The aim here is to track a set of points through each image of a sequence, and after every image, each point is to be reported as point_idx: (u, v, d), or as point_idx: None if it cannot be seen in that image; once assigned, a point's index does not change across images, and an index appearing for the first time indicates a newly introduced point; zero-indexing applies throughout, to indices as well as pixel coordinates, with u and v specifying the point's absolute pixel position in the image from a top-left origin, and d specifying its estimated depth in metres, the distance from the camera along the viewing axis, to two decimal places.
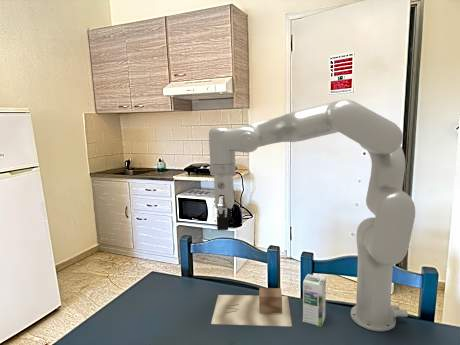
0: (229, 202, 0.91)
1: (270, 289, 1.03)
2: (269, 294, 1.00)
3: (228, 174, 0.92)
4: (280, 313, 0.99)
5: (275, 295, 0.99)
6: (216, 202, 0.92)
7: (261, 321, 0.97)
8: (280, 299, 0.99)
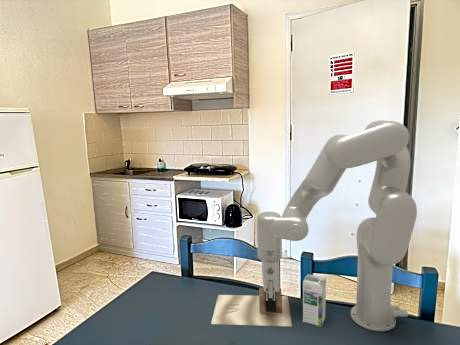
0: (277, 287, 0.95)
1: None
2: None
3: (276, 259, 0.96)
4: (280, 313, 0.99)
5: (275, 295, 0.99)
6: None
7: (261, 321, 0.97)
8: (280, 299, 0.99)
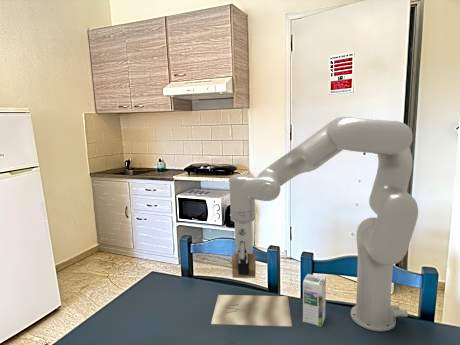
0: (250, 248, 0.94)
1: None
2: None
3: (248, 221, 0.95)
4: (253, 276, 0.98)
5: (248, 258, 0.98)
6: (237, 251, 0.95)
7: (261, 321, 0.97)
8: (253, 262, 0.97)
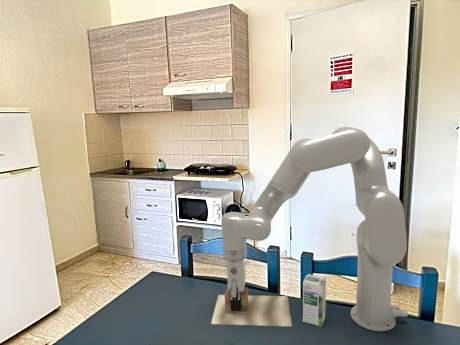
0: (241, 286, 0.97)
1: None
2: None
3: (240, 259, 0.97)
4: (246, 312, 1.01)
5: (241, 294, 1.00)
6: (229, 288, 0.98)
7: (261, 321, 0.97)
8: (245, 298, 1.00)
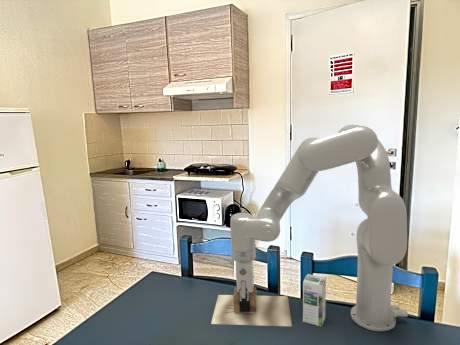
0: (250, 287, 0.96)
1: None
2: None
3: (249, 260, 0.97)
4: (254, 312, 1.00)
5: (249, 294, 1.00)
6: (238, 289, 0.97)
7: (261, 321, 0.97)
8: (254, 298, 0.99)
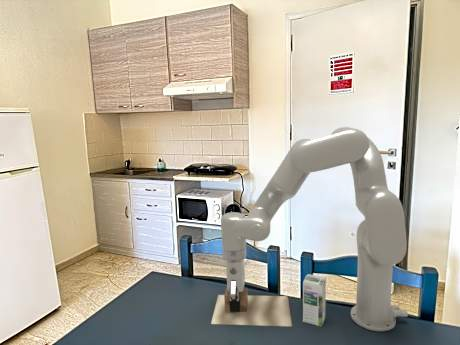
0: (241, 286, 0.97)
1: (236, 289, 1.04)
2: None
3: (239, 259, 0.97)
4: (245, 312, 1.01)
5: (240, 294, 1.00)
6: (228, 287, 0.97)
7: (261, 321, 0.97)
8: (245, 298, 1.00)
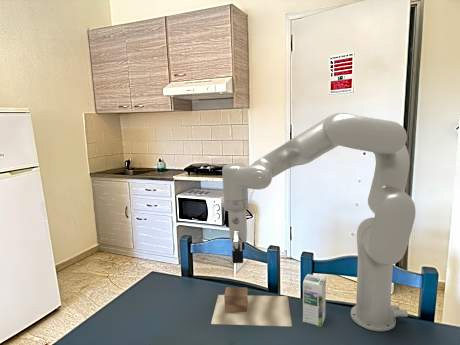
0: (244, 236, 0.95)
1: (236, 289, 1.04)
2: (234, 293, 1.01)
3: (242, 209, 0.96)
4: (245, 312, 1.01)
5: (240, 294, 1.00)
6: (231, 237, 0.96)
7: (261, 321, 0.97)
8: (245, 298, 1.00)
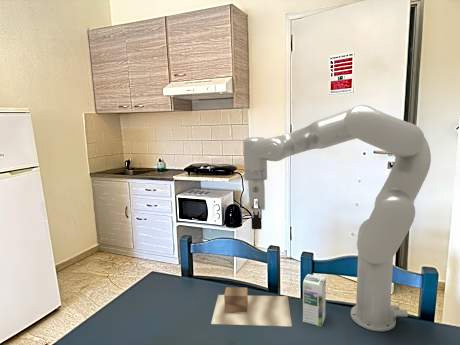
0: (263, 204, 1.03)
1: (236, 289, 1.04)
2: (234, 293, 1.01)
3: (261, 179, 1.03)
4: (245, 312, 1.01)
5: (240, 294, 1.00)
6: (251, 204, 1.03)
7: (261, 321, 0.97)
8: (245, 298, 1.00)
